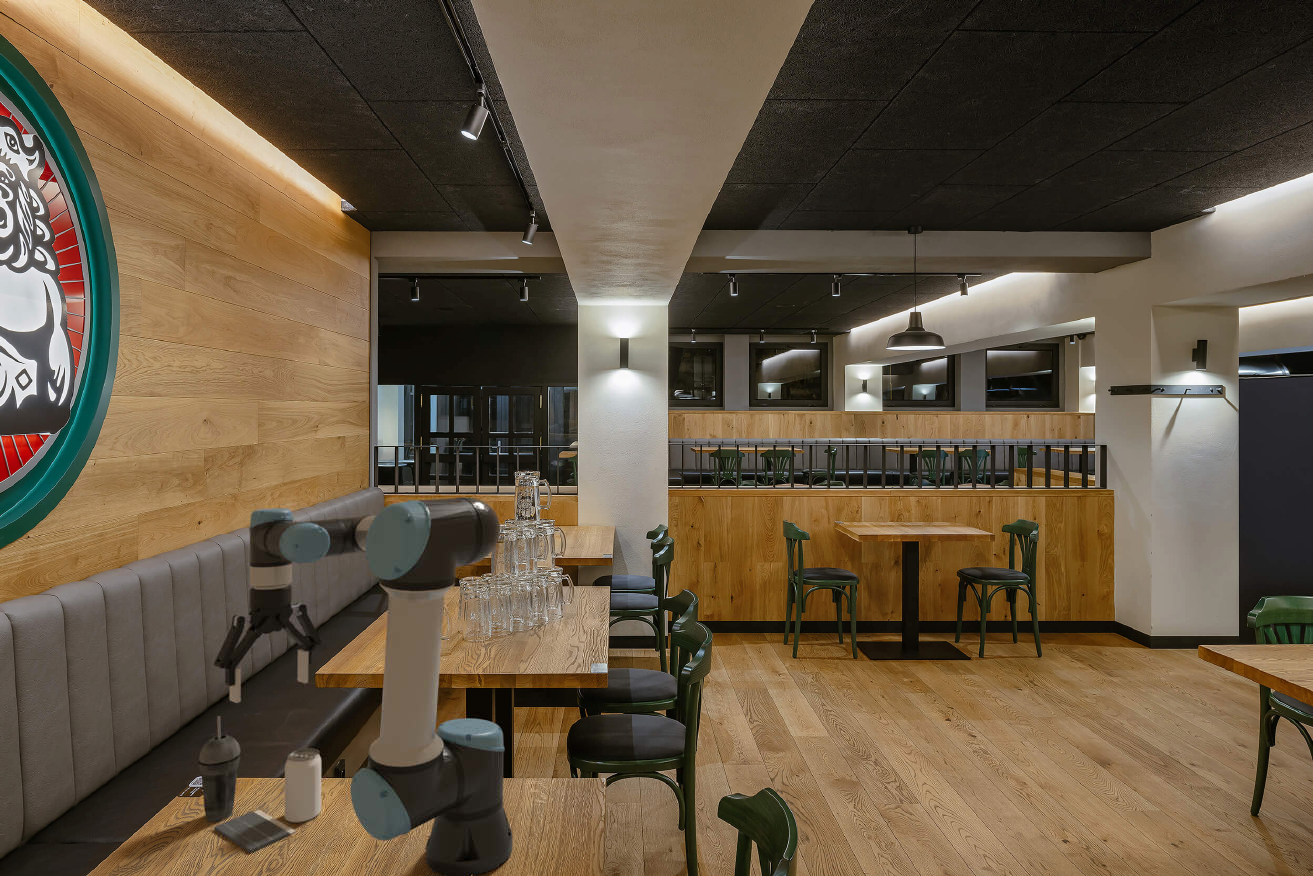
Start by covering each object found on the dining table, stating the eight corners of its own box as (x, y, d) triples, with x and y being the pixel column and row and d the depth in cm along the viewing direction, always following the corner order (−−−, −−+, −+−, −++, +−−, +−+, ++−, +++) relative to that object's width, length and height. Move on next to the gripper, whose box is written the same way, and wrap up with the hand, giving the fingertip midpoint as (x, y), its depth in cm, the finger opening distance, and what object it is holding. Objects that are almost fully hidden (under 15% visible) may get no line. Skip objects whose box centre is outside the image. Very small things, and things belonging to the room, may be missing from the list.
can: (306, 825, 138) (306, 763, 138) (276, 822, 139) (277, 760, 139) (328, 808, 144) (328, 749, 144) (299, 805, 146) (300, 746, 146)
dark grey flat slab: (295, 832, 135) (295, 829, 135) (250, 853, 129) (250, 850, 129) (259, 811, 143) (259, 808, 143) (214, 830, 136) (214, 826, 136)
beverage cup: (244, 804, 146) (245, 705, 146) (235, 822, 139) (236, 719, 139) (203, 809, 144) (204, 709, 144) (192, 828, 137) (193, 723, 137)
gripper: (318, 574, 157) (318, 671, 157) (194, 594, 136) (193, 706, 136) (338, 578, 153) (338, 677, 153) (213, 599, 132) (213, 714, 132)
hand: (270, 691), depth 145 cm, fingers open, 13 cm apart
